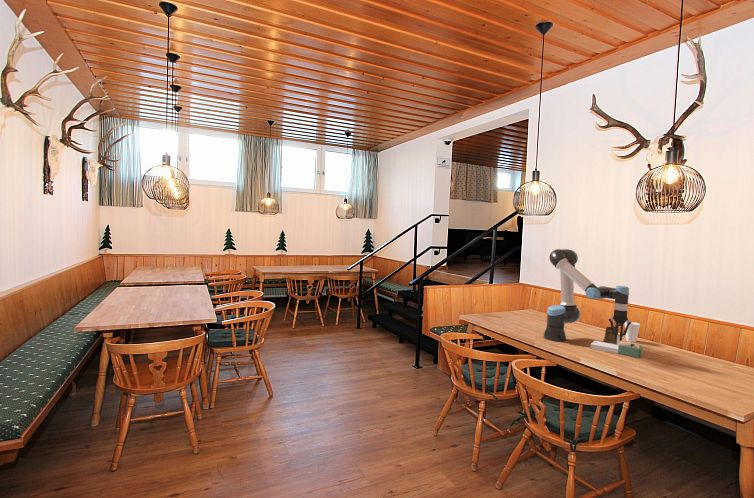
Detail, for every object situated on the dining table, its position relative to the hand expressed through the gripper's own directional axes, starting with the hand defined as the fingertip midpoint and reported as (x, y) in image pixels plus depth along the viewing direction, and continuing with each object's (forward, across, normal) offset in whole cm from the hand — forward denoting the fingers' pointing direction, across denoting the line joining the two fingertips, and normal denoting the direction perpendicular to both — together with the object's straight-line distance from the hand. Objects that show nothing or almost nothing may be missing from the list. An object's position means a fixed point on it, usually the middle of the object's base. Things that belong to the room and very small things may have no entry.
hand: (618, 345), depth 267 cm
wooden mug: (+4, -6, +22) cm, 23 cm away
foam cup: (+4, +3, +41) cm, 41 cm away
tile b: (0, +8, 0) cm, 8 cm away
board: (+4, -7, 0) cm, 8 cm away
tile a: (+1, +4, 0) cm, 4 cm away
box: (+4, +7, 0) cm, 8 cm away
